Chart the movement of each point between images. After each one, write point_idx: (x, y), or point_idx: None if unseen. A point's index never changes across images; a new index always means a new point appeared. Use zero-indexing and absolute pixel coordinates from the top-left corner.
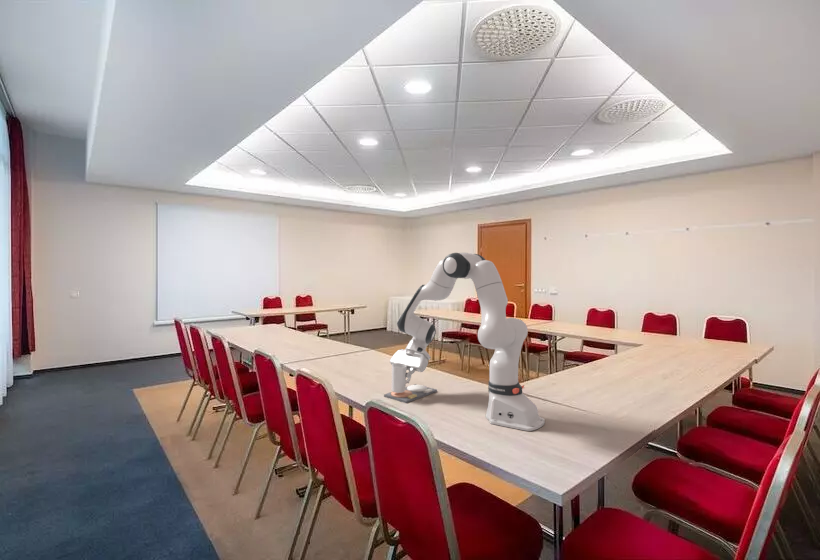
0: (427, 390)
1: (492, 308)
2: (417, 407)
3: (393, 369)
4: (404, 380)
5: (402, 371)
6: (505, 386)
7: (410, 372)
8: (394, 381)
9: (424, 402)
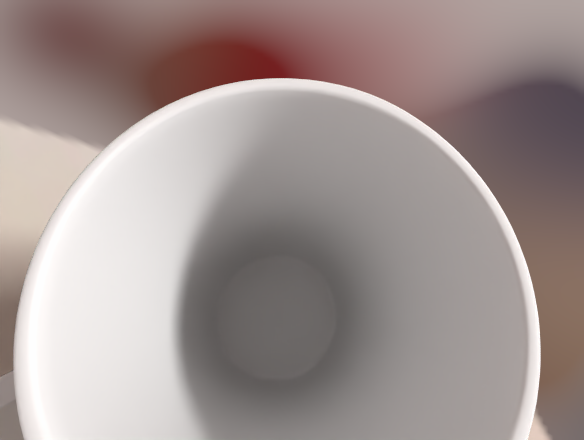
0: None
1: None
2: (22, 199)
3: (324, 132)
4: (182, 310)
5: (136, 216)
6: None
7: (2, 396)
8: (280, 221)
9: (7, 321)
